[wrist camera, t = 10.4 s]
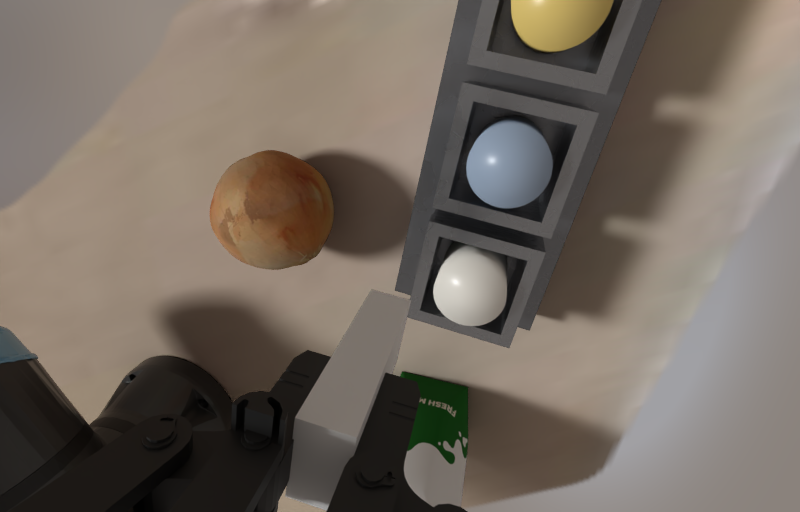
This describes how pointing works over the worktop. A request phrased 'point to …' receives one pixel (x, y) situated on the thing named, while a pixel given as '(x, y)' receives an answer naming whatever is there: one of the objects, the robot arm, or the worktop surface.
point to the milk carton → (438, 442)
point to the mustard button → (557, 22)
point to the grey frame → (563, 131)
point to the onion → (272, 210)
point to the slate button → (509, 163)
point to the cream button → (471, 284)
